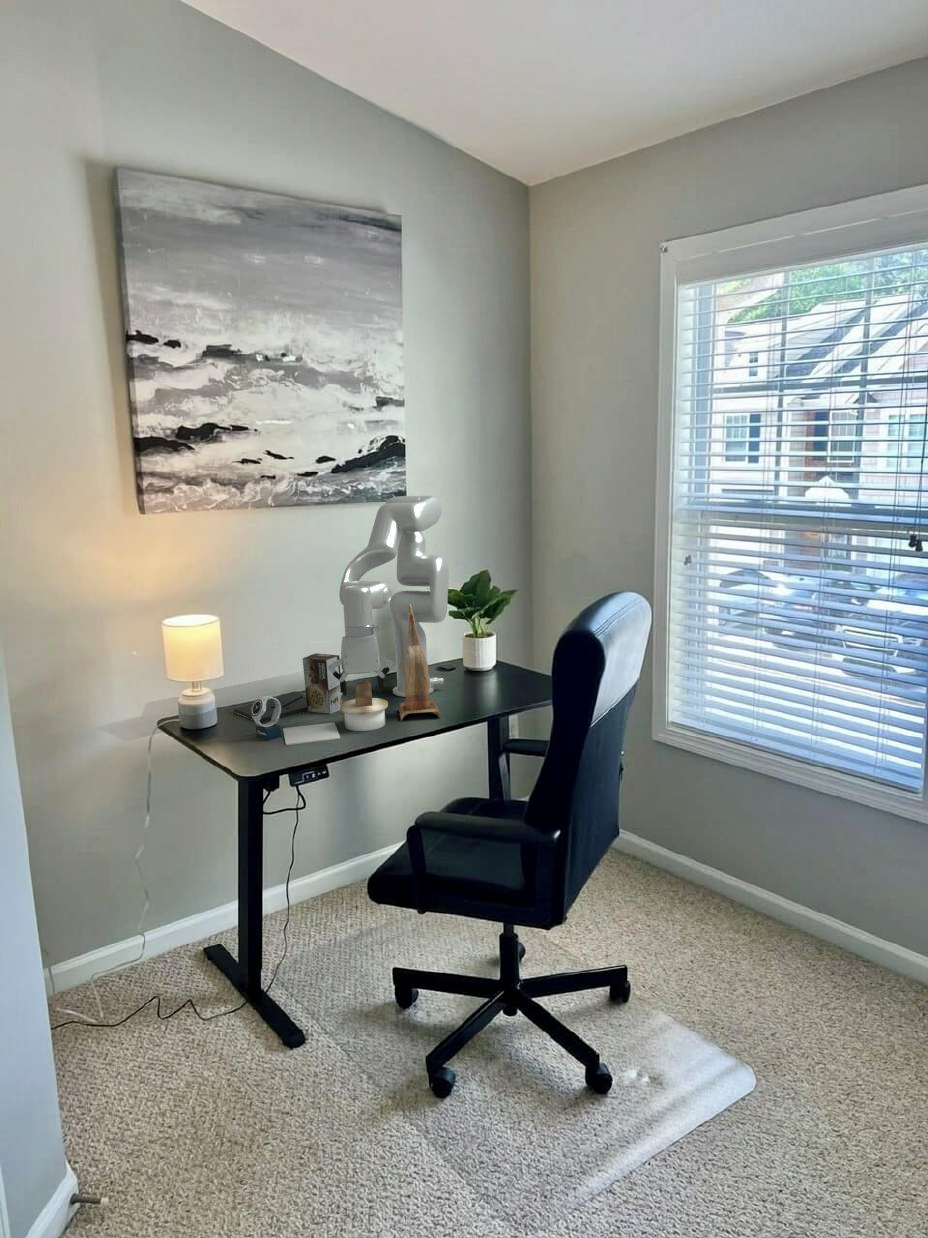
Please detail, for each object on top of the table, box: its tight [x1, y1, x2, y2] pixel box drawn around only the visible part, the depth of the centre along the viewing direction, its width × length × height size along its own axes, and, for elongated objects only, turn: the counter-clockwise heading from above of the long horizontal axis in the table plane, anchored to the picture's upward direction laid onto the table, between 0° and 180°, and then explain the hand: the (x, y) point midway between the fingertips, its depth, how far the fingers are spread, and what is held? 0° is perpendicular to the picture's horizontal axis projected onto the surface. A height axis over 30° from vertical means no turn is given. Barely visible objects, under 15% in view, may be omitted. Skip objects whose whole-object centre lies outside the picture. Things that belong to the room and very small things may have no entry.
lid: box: [339, 680, 389, 714], centre depth 243 cm, size 13×13×7 cm
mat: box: [282, 722, 341, 746], centre depth 238 cm, size 14×14×1 cm
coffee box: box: [302, 653, 344, 715], centre depth 259 cm, size 9×6×16 cm
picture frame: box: [233, 690, 309, 724], centre depth 262 cm, size 16×3×21 cm
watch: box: [251, 695, 283, 742], centre depth 237 cm, size 6×8×11 cm
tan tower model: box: [398, 604, 441, 721], centre depth 250 cm, size 11×12×32 cm
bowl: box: [343, 709, 386, 732], centre depth 244 cm, size 11×11×5 cm
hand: (362, 693), depth 243 cm, fingers open, 9 cm apart
